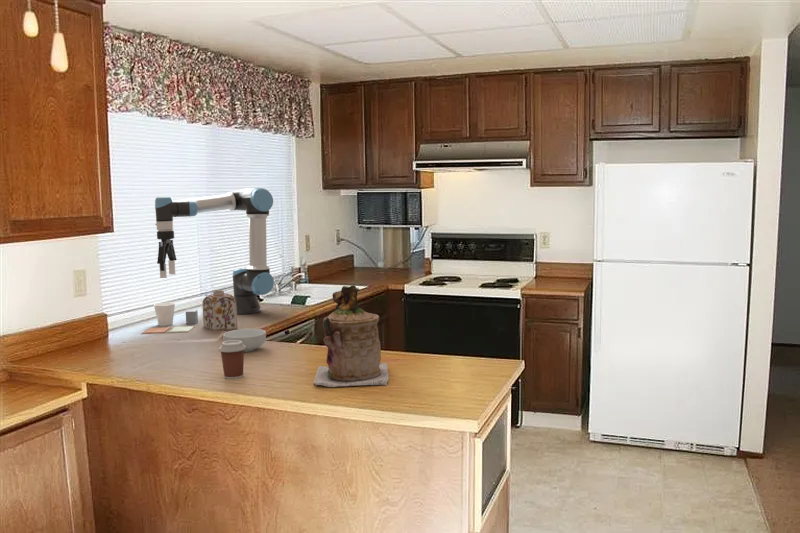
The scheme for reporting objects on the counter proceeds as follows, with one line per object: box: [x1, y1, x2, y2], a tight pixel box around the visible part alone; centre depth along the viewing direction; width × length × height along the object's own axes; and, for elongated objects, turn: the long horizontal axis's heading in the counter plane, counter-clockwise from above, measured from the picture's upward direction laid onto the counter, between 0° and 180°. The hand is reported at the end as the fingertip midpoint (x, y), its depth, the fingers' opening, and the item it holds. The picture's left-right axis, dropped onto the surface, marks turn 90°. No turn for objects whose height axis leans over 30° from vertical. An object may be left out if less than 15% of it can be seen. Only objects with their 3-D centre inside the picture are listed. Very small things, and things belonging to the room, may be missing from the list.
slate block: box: [185, 309, 199, 325], centre depth 336 cm, size 4×4×7 cm
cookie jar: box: [313, 284, 390, 388], centre depth 234 cm, size 25×25×32 cm
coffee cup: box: [218, 340, 246, 380], centre depth 240 cm, size 9×9×12 cm
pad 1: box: [143, 326, 171, 334], centre depth 319 cm, size 9×11×1 cm
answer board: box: [140, 325, 198, 335], centre depth 319 cm, size 22×14×2 cm, turn 93°
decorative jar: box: [202, 289, 238, 332], centre depth 324 cm, size 12×12×18 cm
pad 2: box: [167, 325, 195, 334], centre depth 320 cm, size 9×11×1 cm
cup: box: [153, 301, 176, 327], centre depth 333 cm, size 10×10×11 cm
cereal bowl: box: [222, 327, 267, 353], centre depth 281 cm, size 17×17×7 cm
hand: (167, 276), depth 326 cm, fingers open, 13 cm apart
